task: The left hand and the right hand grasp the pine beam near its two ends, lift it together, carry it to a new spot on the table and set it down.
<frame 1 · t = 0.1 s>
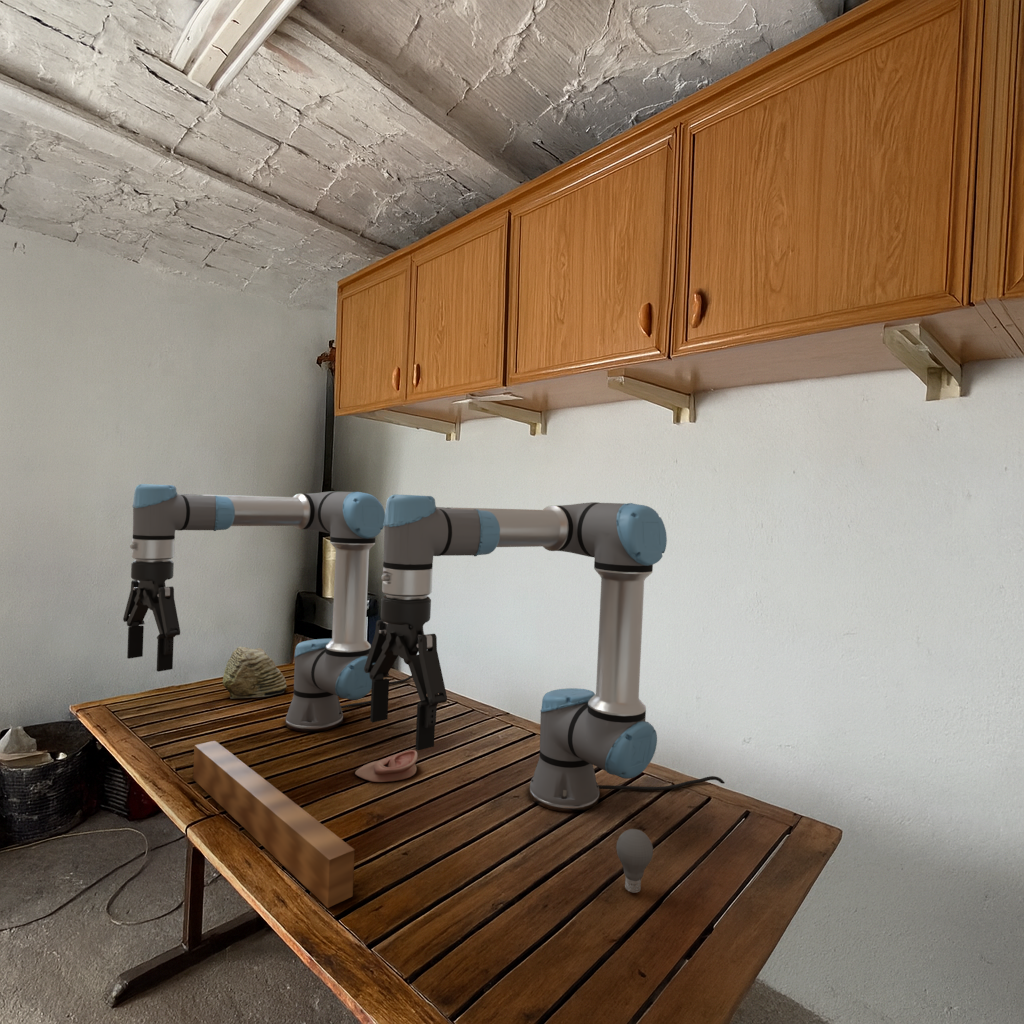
left hand: (149, 663, 129), 28 cm above the table, tool pointing down, fingers open, 13 cm apart
right hand: (400, 733, 97), 28 cm above the table, tool pointing down, fingers open, 13 cm apart
fossil: (254, 694, 198), on the table
anatomical model: (386, 772, 147), on the table
beam: (260, 828, 120), on the table
light bulb: (632, 891, 106), on the table
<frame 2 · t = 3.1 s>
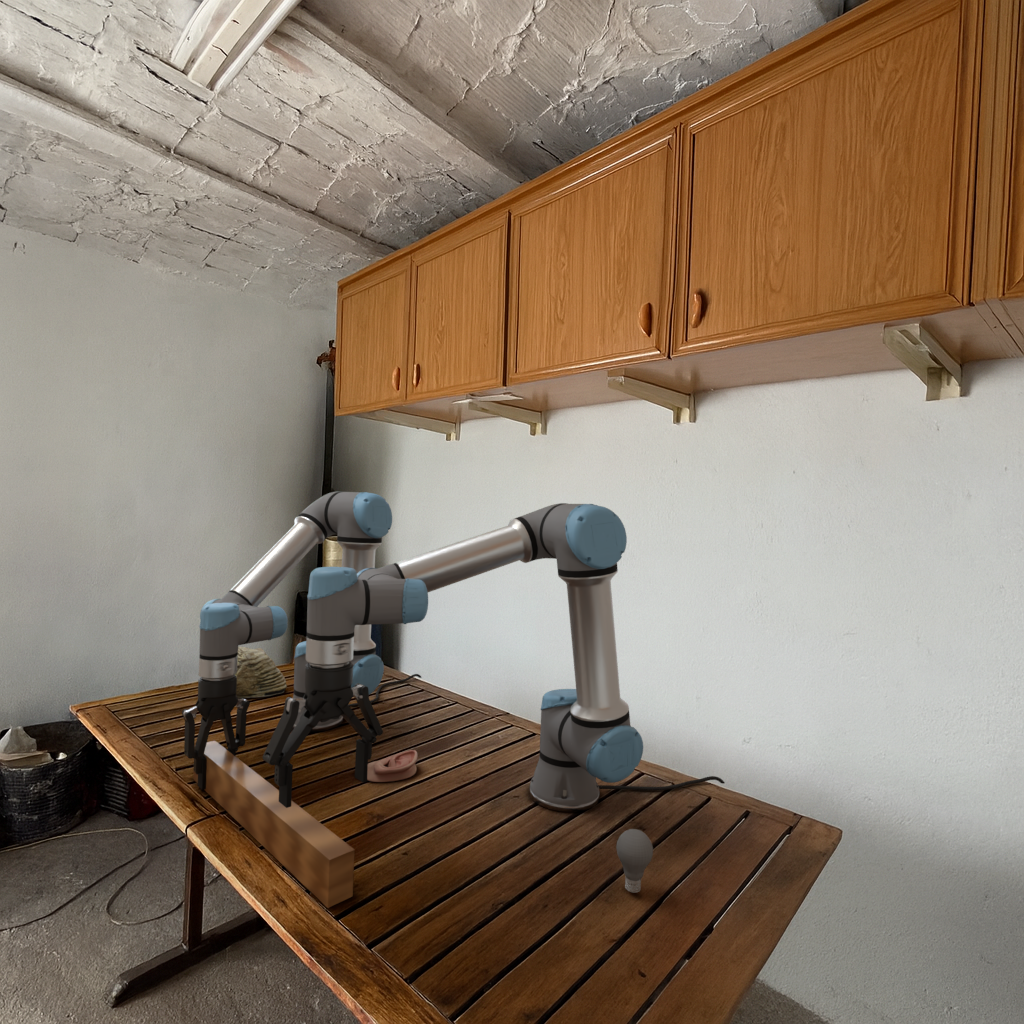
left hand: (214, 783, 136), 1 cm above the table, tool pointing down, fingers closed on beam, 4 cm apart
right hand: (324, 791, 104), 15 cm above the table, tool pointing down, fingers open, 13 cm apart
beam: (260, 828, 120), on the table, touching left hand
everything else where it was.
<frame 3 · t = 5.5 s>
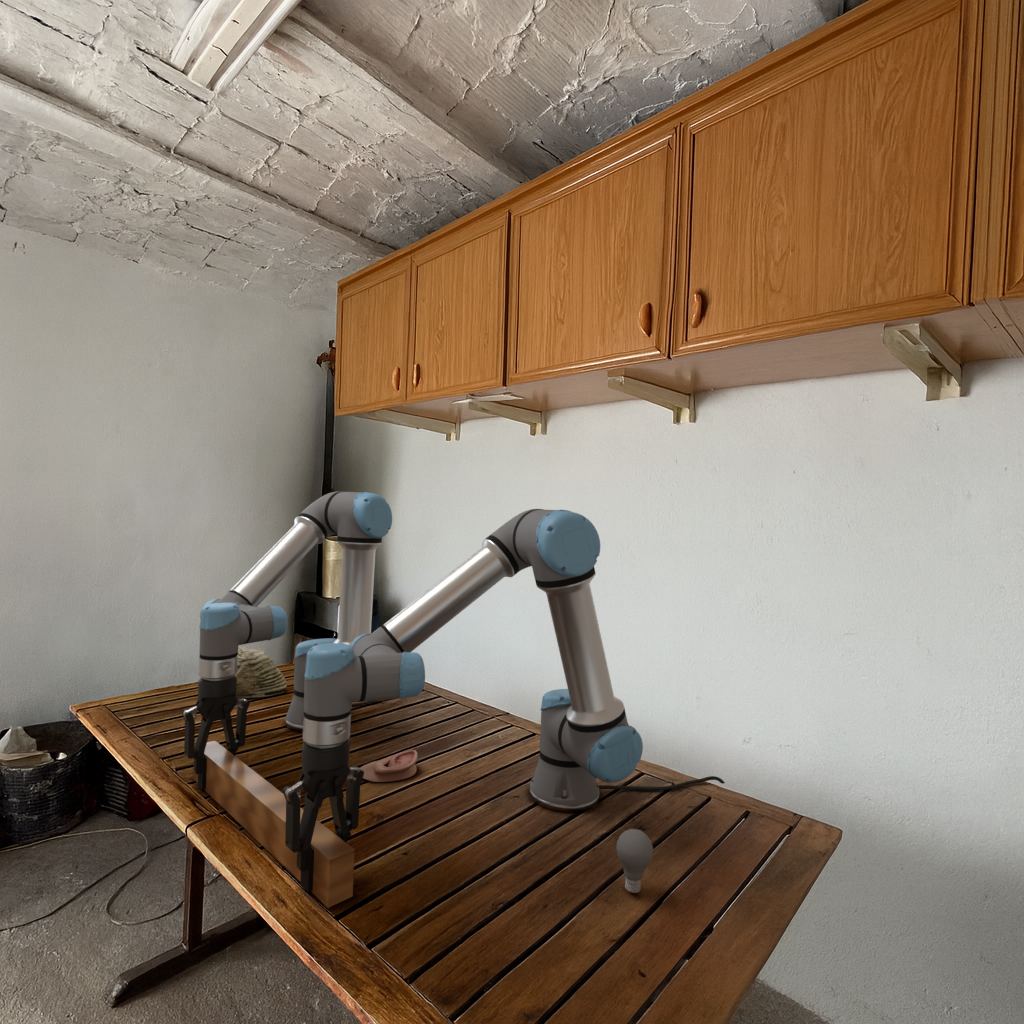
left hand: (214, 783, 136), 1 cm above the table, tool pointing down, fingers closed on beam, 4 cm apart
right hand: (321, 880, 104), 1 cm above the table, tool pointing down, fingers closed on beam, 4 cm apart
beam: (260, 828, 120), on the table, touching left hand, right hand
everything else where it was.
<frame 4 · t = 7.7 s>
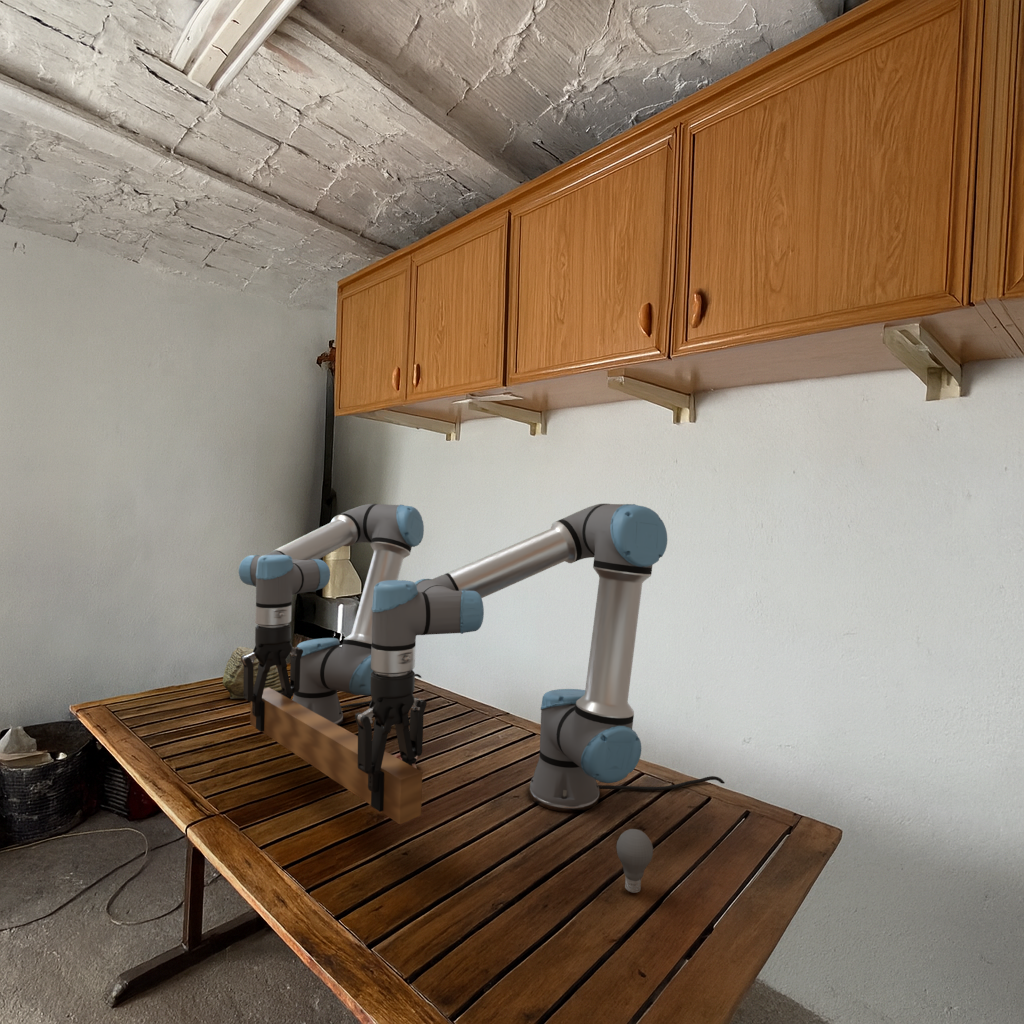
left hand: (271, 726, 143), 11 cm above the table, tool pointing down, fingers closed on beam, 4 cm apart
right hand: (389, 802, 110), 11 cm above the table, tool pointing down, fingers closed on beam, 4 cm apart
beam: (322, 762, 127), point 10 cm above the table, touching left hand, right hand
everything else where it was.
when the left hand's fingers open (2 cm above the table, at t = 9.9 s): beam drops 1 cm, on the table.
when the right hand's fingers open (2 cm above the table, at t = 9.9 s): beam drops 1 cm, on the table.
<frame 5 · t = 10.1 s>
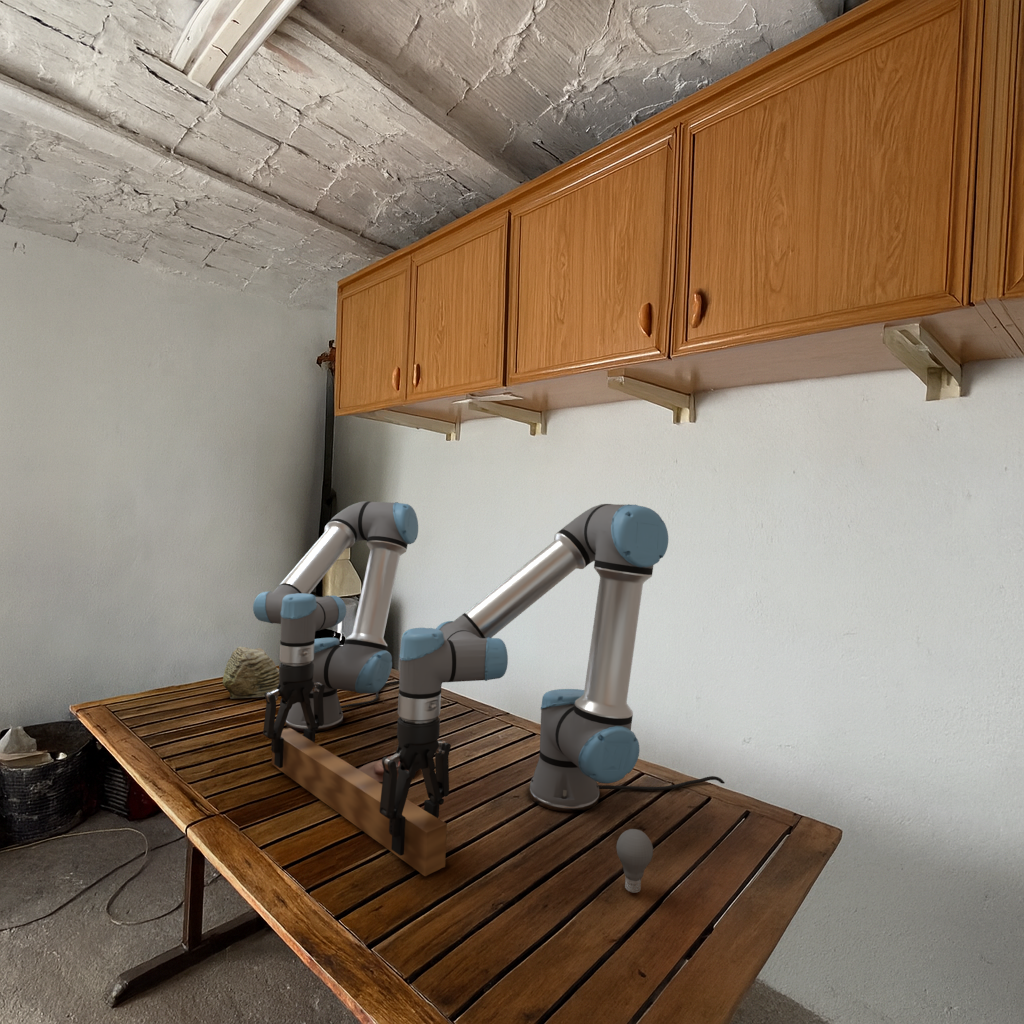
left hand: (293, 761, 146), 2 cm above the table, tool pointing down, fingers open, 6 cm apart
right hand: (413, 844, 113), 2 cm above the table, tool pointing down, fingers open, 6 cm apart
beam: (345, 807, 129), on the table
everything else where it was.
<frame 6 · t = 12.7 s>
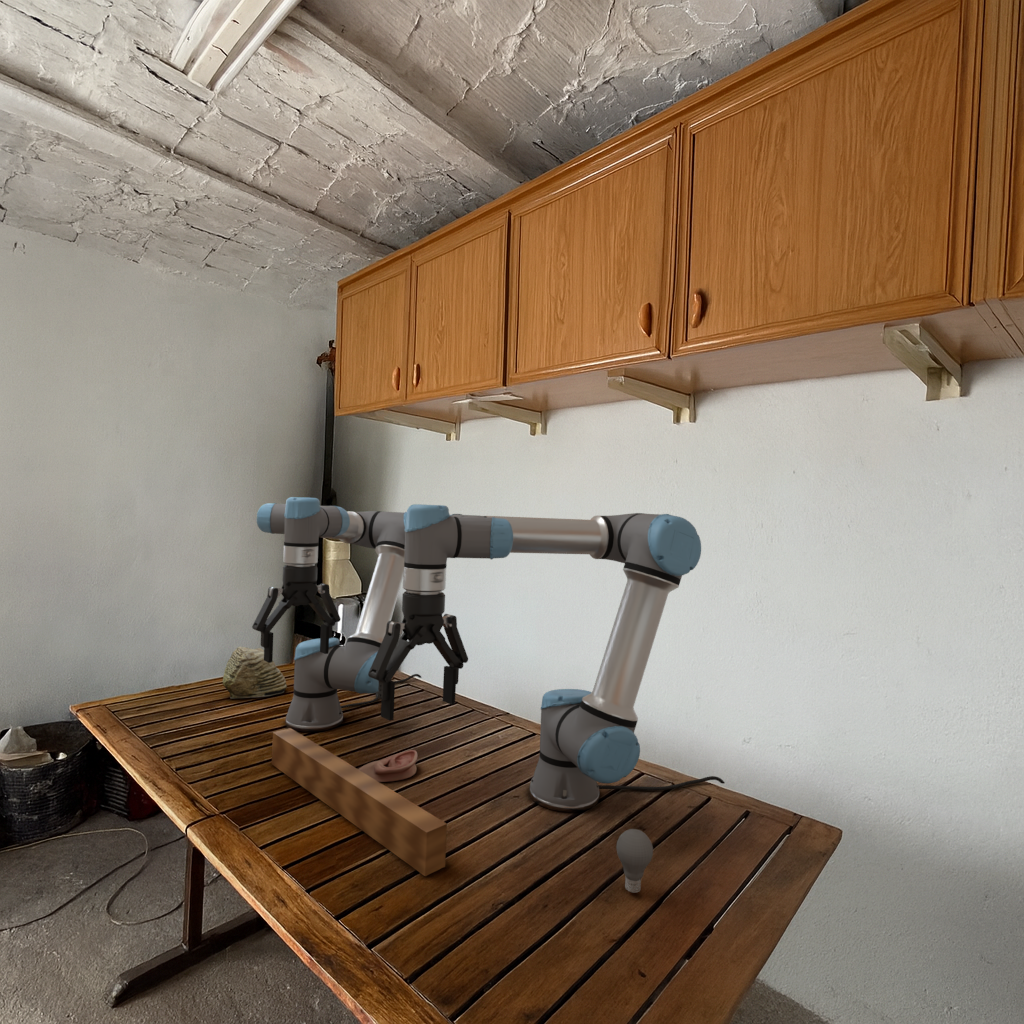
left hand: (296, 657, 145), 26 cm above the table, tool pointing down, fingers open, 13 cm apart
right hand: (419, 710, 113), 26 cm above the table, tool pointing down, fingers open, 13 cm apart
nothing on the table moved.
at the end: beam inside the target area (0.0 cm from its centre), on the table; beam tilted 0°; beam never tilted more than 2° during the clip; both hands held the beam at the same time; the left hand is holding nothing; the right hand is holding nothing; beam at rest at the end (0.0 cm/s) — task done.
